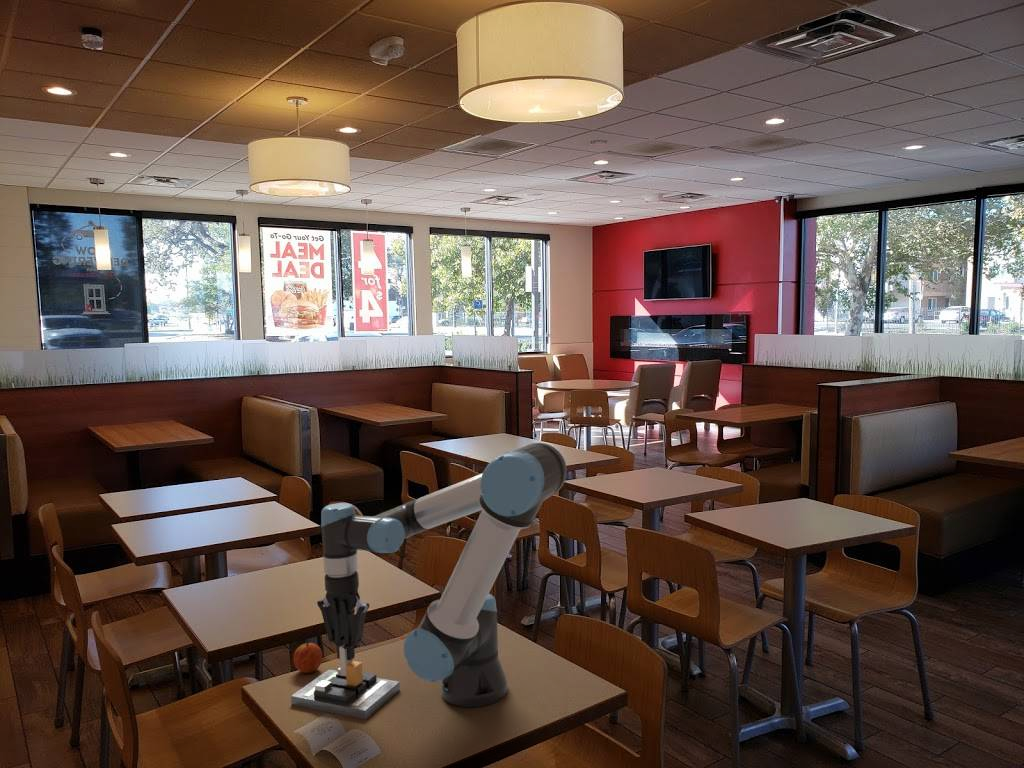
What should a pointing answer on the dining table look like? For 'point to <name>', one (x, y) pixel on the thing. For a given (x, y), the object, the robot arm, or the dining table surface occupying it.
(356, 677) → the block
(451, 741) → the dining table surface
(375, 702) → the panel
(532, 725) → the dining table surface
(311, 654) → the fruit
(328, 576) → the robot arm
